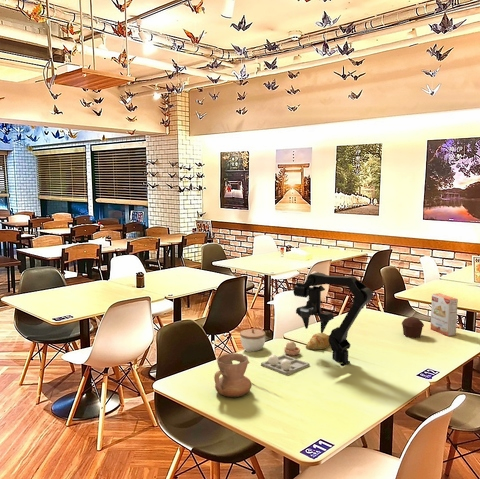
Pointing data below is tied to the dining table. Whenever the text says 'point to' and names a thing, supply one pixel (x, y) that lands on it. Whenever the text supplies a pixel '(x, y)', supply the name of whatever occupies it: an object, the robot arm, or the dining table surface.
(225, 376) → the ceramic jug
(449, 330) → the cracker box
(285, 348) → the small terracotta bowl
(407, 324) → the muffin
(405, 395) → the dining table surface
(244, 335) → the lidded bowl
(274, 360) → the white egg
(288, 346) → the brown egg
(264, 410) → the dining table surface
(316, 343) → the croissant
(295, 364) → the egg carton
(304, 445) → the dining table surface
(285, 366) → the white egg
